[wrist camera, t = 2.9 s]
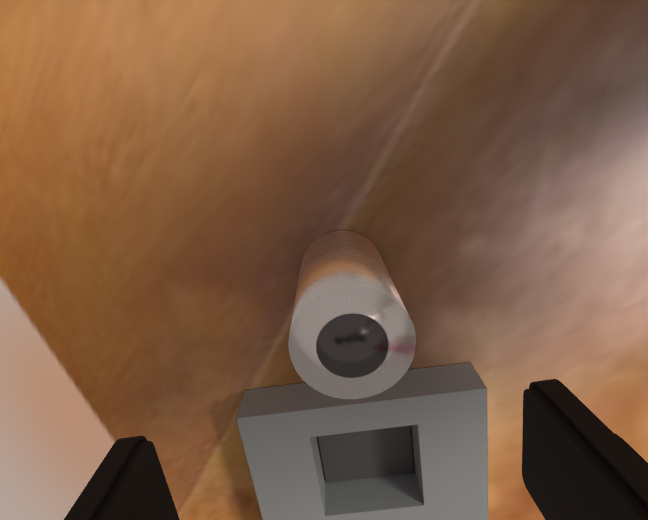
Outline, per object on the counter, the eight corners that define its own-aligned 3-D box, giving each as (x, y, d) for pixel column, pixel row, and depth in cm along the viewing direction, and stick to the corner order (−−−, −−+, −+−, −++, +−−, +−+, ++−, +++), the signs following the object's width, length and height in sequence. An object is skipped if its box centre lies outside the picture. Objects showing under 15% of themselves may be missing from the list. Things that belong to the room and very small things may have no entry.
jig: (244, 389, 24) (235, 421, 21) (470, 362, 23) (488, 390, 21) (297, 601, 30) (294, 645, 27) (475, 583, 29) (490, 626, 27)
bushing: (294, 236, 21) (277, 297, 13) (378, 224, 20) (412, 279, 13) (307, 312, 22) (299, 407, 14) (386, 302, 22) (420, 392, 14)
